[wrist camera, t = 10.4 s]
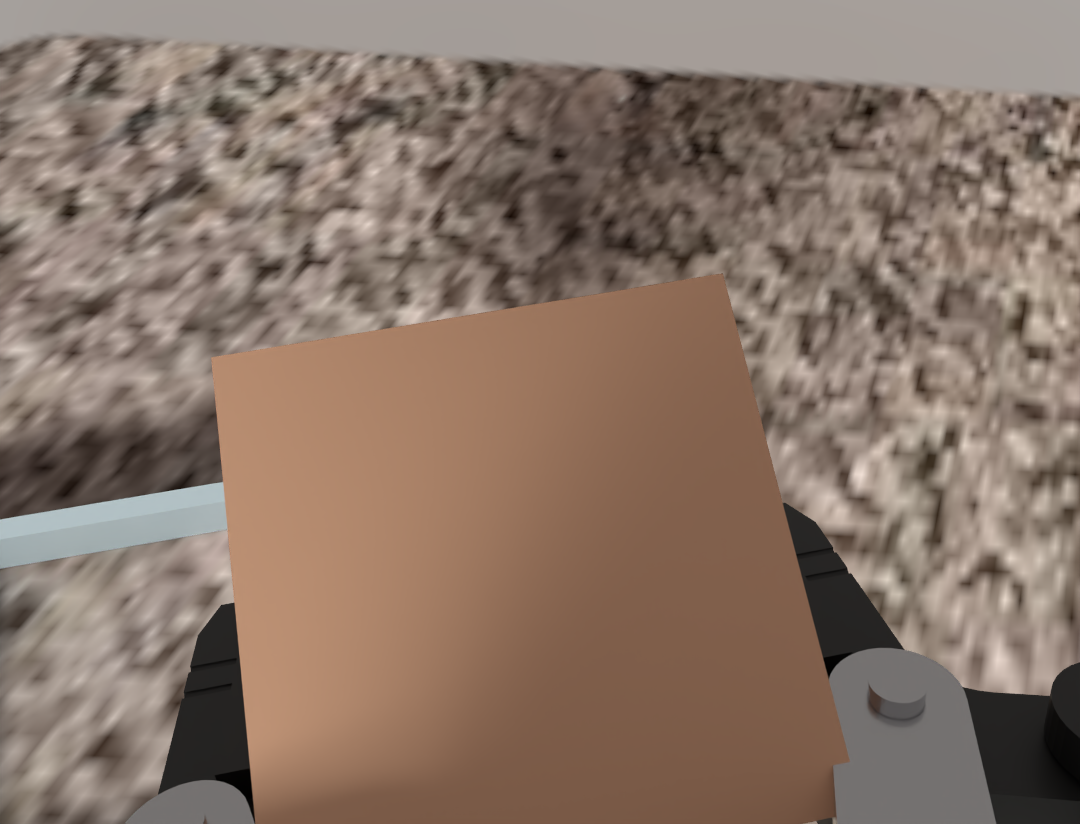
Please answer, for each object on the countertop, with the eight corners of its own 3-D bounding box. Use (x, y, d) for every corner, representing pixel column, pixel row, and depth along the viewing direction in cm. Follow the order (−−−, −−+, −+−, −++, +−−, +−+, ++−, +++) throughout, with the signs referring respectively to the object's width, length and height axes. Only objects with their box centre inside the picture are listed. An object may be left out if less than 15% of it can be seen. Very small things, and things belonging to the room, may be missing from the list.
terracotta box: (407, 801, 17) (265, 935, 8) (370, 531, 19) (210, 357, 9) (676, 747, 18) (862, 810, 8) (620, 485, 19) (722, 272, 9)
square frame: (-53, 1003, 28) (-143, 1052, 24) (-57, 560, 32) (-135, 542, 28) (393, 911, 29) (376, 943, 25) (340, 492, 33) (317, 466, 29)
